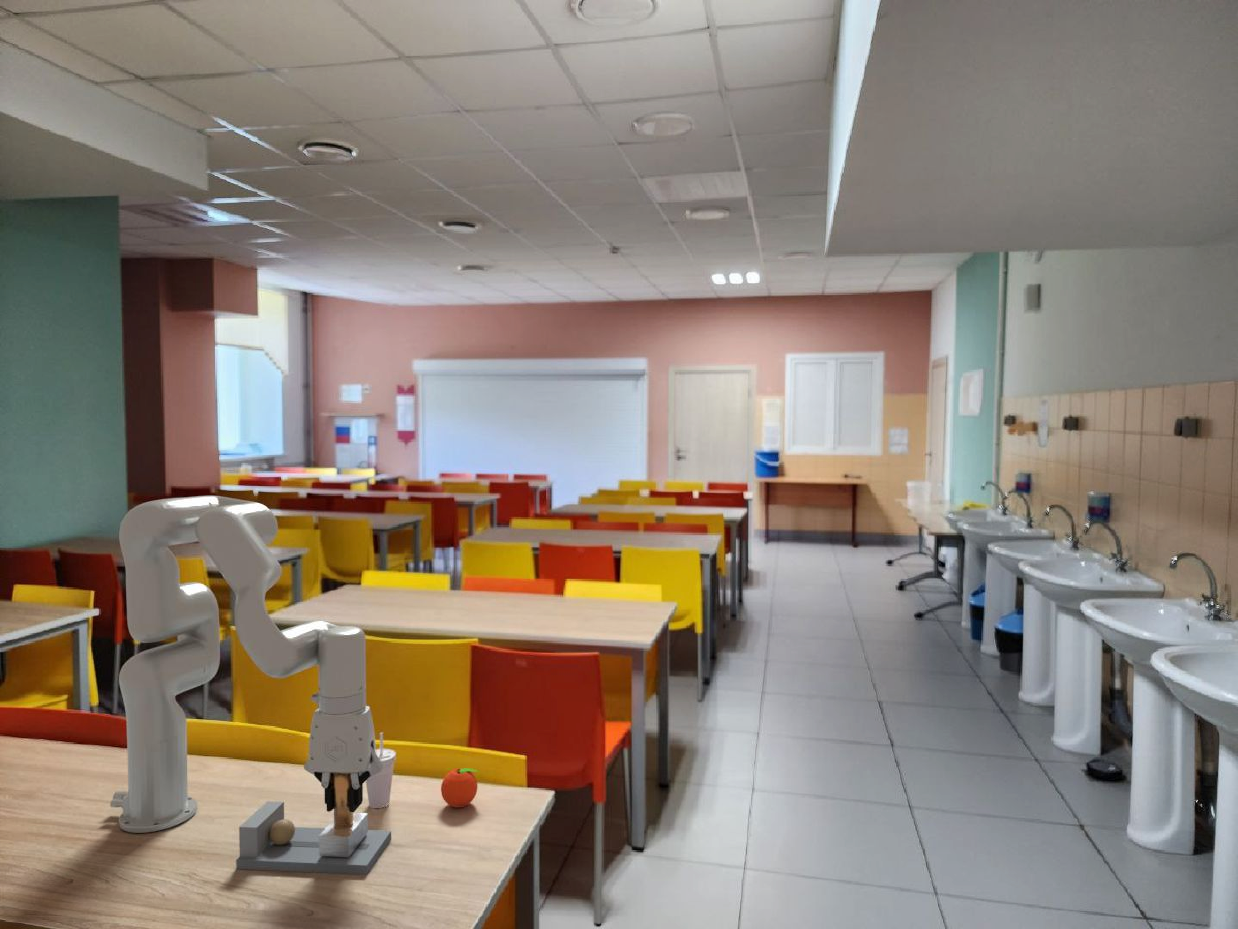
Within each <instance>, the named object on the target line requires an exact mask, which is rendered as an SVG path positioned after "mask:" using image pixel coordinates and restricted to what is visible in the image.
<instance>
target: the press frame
mask: <svg viewBox="0 0 1238 929" xmlns="http://www.w3.org/2000/svg"><path fill="white" fill-rule="evenodd" d="M325 828H326V827H304V826H303V827H302V826H300V827H299V826H295V825H294V823H293V821H291V820H289V819H287V818H285V802H284V801H273V800H271V801H270V800H268V801H266V802H265V803H264V804H263V805H262V806H260V807H259V808H258V809H257V810H256V811H255V812H254V813H253V814H252V815H251V816H250V817H249V818H248V819H246V820H245V821H244V822H243V823H242V824H240V826H239V827H238V833H239V834H238V835H239V836H238V837H239V838H238V840H239V844H238V845H239V857H238V858H237V859H236V860H235V862H236V864H235V865H236V866H235V868H236V869H237V870H256V871H257V870H258V871H259V870H260V871H279V872H280V871H282V872H303V873H325V874H346V875H348V874H349V875H350V874H351V875H368V874H369V872H370V871H371V869H373V867H374V865H375V863H376V862H377V860H378V859H379V857H380V856H381V855H382V853H383V852H384V850H386V849H385V848H386V847H388V844H390V842H391V840H392V831H391V830H380V829H379V830H377V829H368V833H367V834H366V835H365V836H364V838H363V839H362V840H361V842H360V843H359V844H358V846H357V847H356V848H355V850H354V851H353V852H352V854H351V855H350V856H349V857H334V856H319V835H320V834H321V833H322V832H323V831H324V829H325Z"/></svg>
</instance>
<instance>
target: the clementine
mask: <svg viewBox="0 0 1238 929" xmlns="http://www.w3.org/2000/svg"><path fill="white" fill-rule="evenodd" d="M472 772H475V773H477V774H479V772H478V770H476V769H473V768H466V767H465V768H461V767H460V768H455V769H453V770H451V771H449V772H447V774H446V775H445V777H444V778H443V780H442V782H441V784H440V785H441V788H440V791H441V796H442V800H444V802H445V803H446V804H447V805H449V806H450V807H453V808H463V807H466V806H467V805H469V804H470V803H471V802H472V801H473V800H474V799H475V798H476V795H477V792H478V788H479V787H478V781H477V779H476V776H475V774H474V773H472ZM479 776H480V777H482V776H481V774H479Z"/></svg>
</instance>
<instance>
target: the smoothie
mask: <svg viewBox="0 0 1238 929" xmlns="http://www.w3.org/2000/svg"><path fill="white" fill-rule="evenodd" d="M376 755H377V756H378V758H379V760H380V762H381V764H382V765H383V769H382V770H381V771H380V772H379V773H377V774H375V775H373V776H371V777H369V778H368V779H367V780H366V781H365V786H366V791H367V792H366V793H367V798H368V799H367V801H368V807H369V808H371V809H373V808H380V809H382V808H381V807H383V806H386V805H387V804H388V803H389V804H390V799H391V791H392V790H391V789H392V783H393V774H394V768H395V767H394V764H395V761H396V759H397V756H396V755H397V753H396V751H395V750H393V749H390V748H384V732H380V733H379V748H377V749H376ZM368 768H371V766H370V764H369V766H368ZM368 768H367V769H368ZM367 769H366V770H367ZM366 770H365V771H366ZM386 807H387V806H386Z"/></svg>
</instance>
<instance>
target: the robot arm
mask: <svg viewBox="0 0 1238 929" xmlns="http://www.w3.org/2000/svg"><path fill="white" fill-rule="evenodd" d="M278 530H279V524H278V520H277V517H276V516H275V513H273V511H271V509H270V508H268V507H267V506H266V505H264V504H263V503H259V502H257V501H256V502H255V501H250V500H243V499H239V498H232V497H227V496H220V495H198V496H188V497H186V496H185V497H171V498H162V499H157V500H156V499H155V500H151V501H147V502H143V503H141V504H138V505H136V506H134V507H133V508H131V509H130V510H129V511H127V513H126V514H125V515H124V517H123V519H122V520H121V523H120V526H119V534H118V536H119V537H118V539H119V545H120V550H121V554H122V557H123V558H122V559H123V562H124V566H125V591H126V595H125V596H126V618H127V620H126V621H127V628H128V632H129V634H130V636H131V638H133V640H135V641H136V642H139V643H142V644H143V643H144V644H146V643H147V644H149V643H156V642H161V641H164V640H168V639H171V638H175V637H177V641H174V642H171V643H167V644H166V643H165V644H163V645H158V646H156V647H152V648H150V649H146V650H144V651H141V652H139V653H137V654H135V655H133V656H131V657H130V658H129V659H128V660H127V661H125V663H124V664H123V665H122V666H121V669H120V671H119V677H118V683H119V688H120V692H121V697H122V699H123V700H122V701H123V705H124V710H125V711H124V712H125V719H126V740H127V741H126V742H127V743H126V746H127V747H126V748H127V750H126V751H127V789H128V791H126V790H125V791H123V790H117V791H115V792H114V794H113V796H112V800H111V801H110V804H109V806H110V808H121V809H122V813H121V814H120V816H119V818H118V826H119V828H120V829H121V830H122V831H125V832H126V833H136V834H137V833H139V834H144V833H152V832H153V833H154V832H157V831H158V832H159V831H162V830H167V829H171V828H172V827H175V826H178V825H179V824H182V823H184V822H185V821H187V820H189V819H190V818H191V817H193V816H194V815H195V814H196V812H197V811H198V801H197V800H196V798H194V797H192V796H189V793H188V792H189V789H188V787H189V785H188V739H187V738H188V737H187V736H188V735H187V731H188V730H187V728H188V727H187V716H186V714H185V711H184V710H183V708H182V707H181V706H180V705H179V703H178V702H177V700H176V696H177V695H180V694H182V693H183V692H186V691H188V690H189V691H190V690H192V689H194V688H197V687H199V686H201V685H204V684H206V683H209V682H210V681H211V680H212V679H213V678H214V677H215V676H216V674H217V672H218V670H219V667H220V660H221V653H220V652H221V646H220V645H221V644H220V639H221V638H220V637H221V636H220V614H219V613H220V612H219V611H220V610H219V605H218V600H217V598H216V596H215V594H214V593H213V591H212V590H211V588H209V587H208V586H207V585H205V584H204V583H201V582H195V581H194V582H190V581H189V582H184V583H181V581H180V567H179V562H178V559H177V558H176V556H175V555H174V553H173V552H172V551H171V550H172V549H170V548H169V547H171V546H177V545H181V544H190V543H195V542H198V543H199V544H200V545H201V546H202V548H203V549H204V551H205V553H206V554H207V555H208V557H209V559H211V561H212V563H213V564H214V565H215V567H216V568H217V570H218V571H219V573H220V574H221V575H222V577H223V579H224V580H225V582H226V583H227V584H228V585H229V588H231V589H232V591H233V593H234V594H235V602H234V610H233V612H234V613H233V614H234V616H233V617H234V619H233V620H234V626H235V633H236V636H237V638H238V641H239V643H240V644H241V646H242V647H243V649H244V650H245V652H246V653H247V655H248V656H249V659H251V660H252V662H253V663H254V664H255V666H256V667H257V668H258V669H259V670H260V671H261V672H262V673H264V674H265V675H266V676H268V677H271V678H275V679H285V678H287V677H290V676H292V675H295V674H297V673H299V672H300V673H301V672H302V671H304V670H306V669H310V668H313V667H316V666H318V692H316V693H312V695H311V697H310V701H311V702H313V703H316V704H317V709H316V710H314V712H313V715H312V720H311V725H310V733H309V740H308V741H309V743H308V755H307V756H308V758H307V760H306V762H305V764H304V765H303V770H305V771H306V772H308V773H310V774H311V775H313V776H314V777H315V778H316V779H317V781H318V782H320V785H321V788H323V789H324V804H325V805H326V812H332V811H334V776H333V773H351V780H352V787H351V789H350V790H349V811H350V812H354V813H356V811H357V809H358V808H359V807H360V806H361V805H362V803H363V801H364V799H363V798H364V795H363V792H364V790H363V789H364V786H363V785H364V783H366V780H367V779H368V778H369V777H371V776H373V775H375V774H377V773H379V772H380V771H381V770H382V769H383V765H382V764H381V762H380V760H379V758H378V756H377V755H376V735H375V734H376V733H375V728H374V727H375V726H374V725H375V724H374V722H373V721H374V720H373V716H372V711H371V708H370V706H369V705H367V664H366V663H367V658H366V657H367V656H366V655H367V653H366V650H367V648H366V646H367V644H366V643H367V642H366V640H367V639H366V634H365V632H364V630H363V629H362V628H360V627H357V626H354V625H353V626H352V625H348V626H347V625H344V626H342V625H341V626H340V625H336V624H333V623H330V622H328V621H323V620H310V621H307V622H304V623H301V624H297V625H295V626H292V627H291V626H290V627H287V628H285V629H282V630H281V629H279V628H278V626H277V625H276V623H275V622H274V621H273V619H272V618H271V616H270V614H269V613H268V609H267V607H266V600H265V599H266V593H267V592H268V591H269V590H270V589H271V588H272V587H274V585H276V583H277V582H278V581H279V579H280V578H281V577H282V574H283V573H282V572H283V568H282V566H281V564H280V562H279V561H278V559H276V557H275V556H274V554H273V553H272V552H271V550H270V548H269V547H268V546H267V545H270V543H272V542H273V541H274V540H275V538H277V535H278ZM369 764H370V766H371V768H368V766H369ZM367 768H368V769H367ZM366 769H367V770H366ZM365 770H366V771H365Z"/></svg>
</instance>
